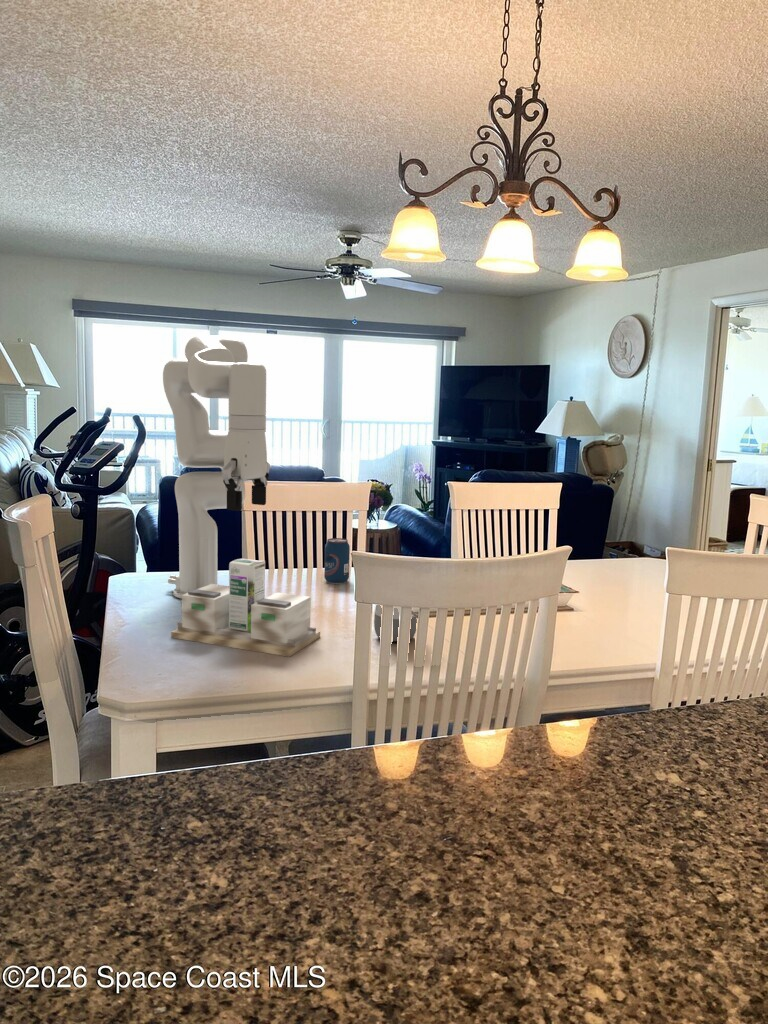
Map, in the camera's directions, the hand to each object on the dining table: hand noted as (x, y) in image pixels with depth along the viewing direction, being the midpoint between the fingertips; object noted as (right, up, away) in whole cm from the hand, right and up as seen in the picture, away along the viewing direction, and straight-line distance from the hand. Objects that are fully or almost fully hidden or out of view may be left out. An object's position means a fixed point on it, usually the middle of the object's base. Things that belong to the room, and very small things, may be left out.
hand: (246, 507), depth 153 cm
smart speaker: (+31, -29, +6) cm, 43 cm away
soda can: (+15, -21, +55) cm, 61 cm away
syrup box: (-1, -26, +4) cm, 26 cm away
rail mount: (-1, -28, +4) cm, 28 cm away
